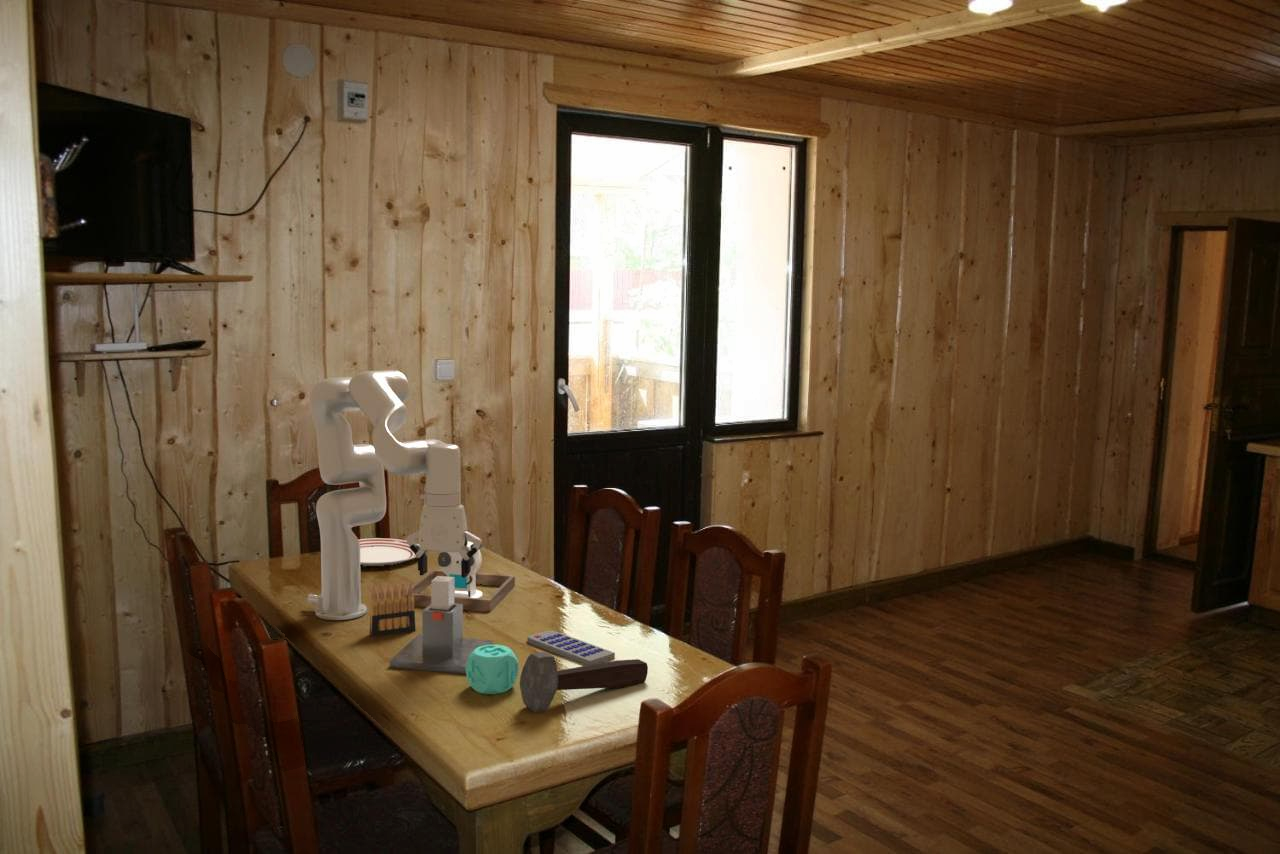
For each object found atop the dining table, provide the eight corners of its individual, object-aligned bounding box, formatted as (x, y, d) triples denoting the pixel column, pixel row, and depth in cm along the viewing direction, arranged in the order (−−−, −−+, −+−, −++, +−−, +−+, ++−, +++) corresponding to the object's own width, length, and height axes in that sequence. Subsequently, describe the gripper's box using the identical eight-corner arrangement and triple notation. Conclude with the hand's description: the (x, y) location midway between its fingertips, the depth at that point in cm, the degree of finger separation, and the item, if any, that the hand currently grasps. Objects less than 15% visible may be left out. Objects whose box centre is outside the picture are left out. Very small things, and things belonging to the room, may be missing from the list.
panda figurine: (430, 598, 281) (430, 543, 279) (449, 587, 292) (449, 534, 290) (471, 603, 278) (472, 548, 276) (489, 591, 288) (489, 538, 286)
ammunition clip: (371, 636, 250) (371, 587, 248) (369, 634, 251) (369, 585, 250) (415, 631, 255) (415, 582, 253) (413, 628, 256) (413, 580, 255)
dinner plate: (442, 557, 323) (442, 546, 323) (375, 576, 301) (375, 565, 300) (378, 543, 338) (378, 533, 338) (310, 561, 315) (310, 550, 315)
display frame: (401, 604, 275) (401, 593, 274) (432, 580, 298) (432, 569, 298) (490, 611, 271) (490, 600, 271) (515, 585, 295) (515, 575, 294)
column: (430, 652, 236) (431, 580, 234) (437, 646, 240) (437, 575, 238) (448, 653, 235) (448, 582, 233) (454, 647, 239) (454, 577, 237)
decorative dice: (490, 697, 215) (490, 660, 214) (464, 687, 221) (465, 650, 219) (519, 687, 221) (519, 650, 220) (493, 677, 227) (494, 641, 225)
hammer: (632, 693, 229) (516, 706, 210) (639, 642, 229) (523, 651, 210) (646, 700, 226) (529, 715, 207) (653, 649, 225) (536, 659, 206)
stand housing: (389, 667, 230) (389, 616, 229) (418, 640, 248) (418, 593, 247) (468, 674, 228) (469, 622, 226) (492, 646, 245) (493, 598, 244)
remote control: (589, 669, 234) (589, 659, 234) (523, 643, 250) (523, 634, 249) (614, 660, 240) (615, 651, 240) (548, 635, 256) (549, 626, 255)
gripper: (399, 501, 231) (401, 577, 233) (476, 504, 228) (476, 581, 230) (412, 495, 238) (413, 569, 240) (486, 498, 235) (486, 572, 237)
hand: (444, 575), depth 235 cm, fingers open, 9 cm apart
